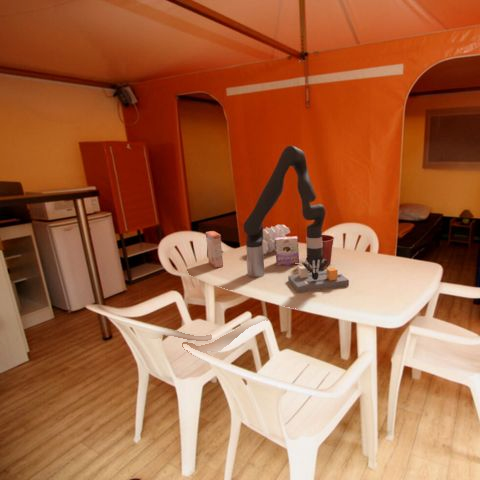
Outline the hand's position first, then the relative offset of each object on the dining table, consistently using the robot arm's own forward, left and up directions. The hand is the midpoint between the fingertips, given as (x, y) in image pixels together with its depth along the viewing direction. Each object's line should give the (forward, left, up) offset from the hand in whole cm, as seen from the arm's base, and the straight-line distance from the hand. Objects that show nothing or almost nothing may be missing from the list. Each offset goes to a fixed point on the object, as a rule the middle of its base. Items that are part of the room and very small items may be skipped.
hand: (314, 279), depth 163 cm
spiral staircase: (-5, +69, -4) cm, 69 cm away
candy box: (-2, +40, -4) cm, 40 cm away
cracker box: (-45, +55, -4) cm, 71 cm away
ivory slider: (-3, +8, -1) cm, 8 cm away
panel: (+3, +4, -4) cm, 6 cm away
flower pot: (+16, +32, -4) cm, 36 cm away
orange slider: (+9, 0, -1) cm, 9 cm away
